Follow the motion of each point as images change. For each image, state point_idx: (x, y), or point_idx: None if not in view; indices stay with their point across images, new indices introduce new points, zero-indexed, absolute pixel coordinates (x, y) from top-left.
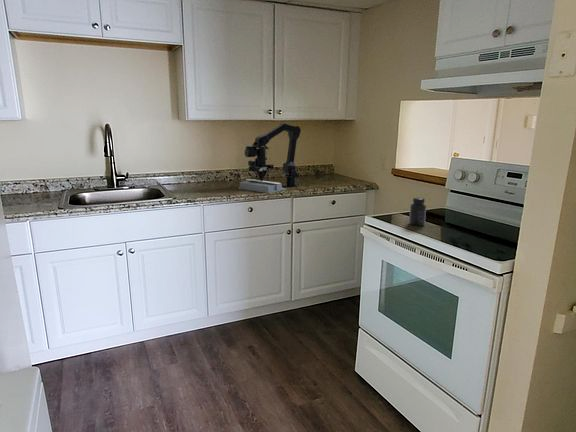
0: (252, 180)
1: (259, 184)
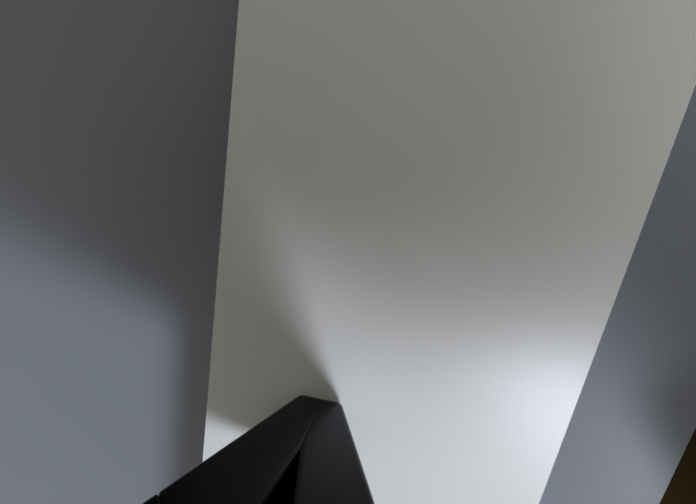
0: (243, 11)
1: (50, 447)
